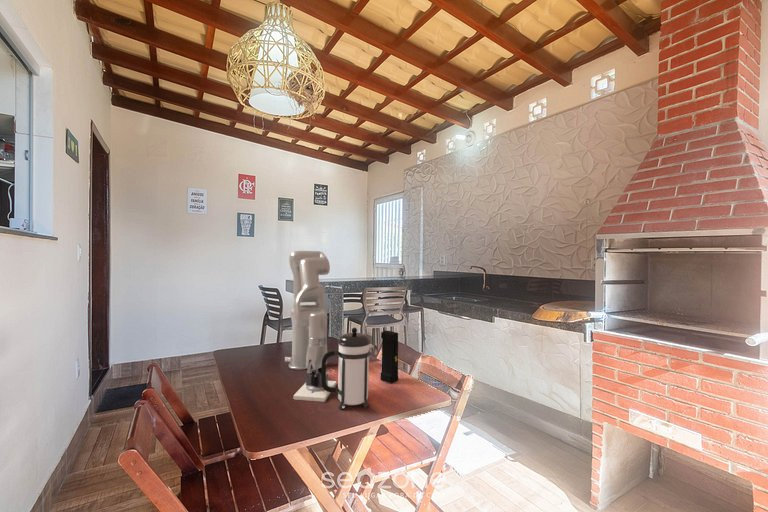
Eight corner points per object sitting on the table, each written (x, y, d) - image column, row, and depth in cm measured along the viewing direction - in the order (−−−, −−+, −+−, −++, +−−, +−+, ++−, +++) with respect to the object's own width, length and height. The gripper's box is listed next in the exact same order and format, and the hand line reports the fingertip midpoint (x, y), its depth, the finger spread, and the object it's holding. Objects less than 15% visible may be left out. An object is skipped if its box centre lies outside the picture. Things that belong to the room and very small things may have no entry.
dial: (302, 389, 143) (302, 375, 143) (311, 381, 152) (311, 368, 152) (322, 392, 141) (322, 377, 141) (330, 383, 150) (330, 370, 150)
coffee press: (351, 391, 146) (352, 321, 146) (379, 402, 136) (380, 327, 136) (319, 405, 133) (320, 328, 132) (348, 418, 123) (350, 335, 122)
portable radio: (400, 381, 159) (401, 327, 159) (392, 384, 155) (393, 329, 154) (388, 376, 164) (389, 325, 164) (379, 379, 160) (380, 326, 160)
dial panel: (293, 399, 137) (293, 395, 137) (308, 382, 155) (308, 378, 155) (324, 401, 136) (324, 397, 136) (336, 384, 153) (336, 380, 153)
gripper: (321, 335, 155) (320, 376, 155) (298, 344, 140) (297, 389, 140) (335, 337, 152) (334, 378, 152) (313, 346, 137) (313, 392, 137)
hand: (317, 383), depth 146 cm, fingers closed on dial, 3 cm apart
